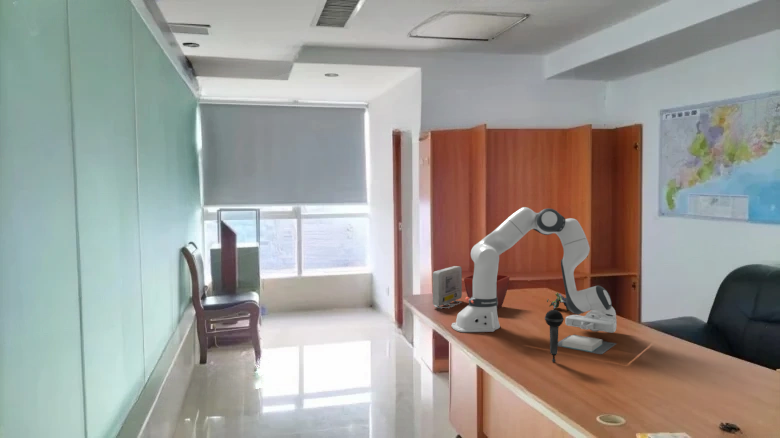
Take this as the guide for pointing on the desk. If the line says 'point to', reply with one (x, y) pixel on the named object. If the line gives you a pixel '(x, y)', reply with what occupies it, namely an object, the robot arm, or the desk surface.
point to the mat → (600, 350)
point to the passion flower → (559, 299)
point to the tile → (582, 343)
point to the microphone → (554, 329)
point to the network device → (447, 286)
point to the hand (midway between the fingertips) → (583, 327)
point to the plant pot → (500, 287)
